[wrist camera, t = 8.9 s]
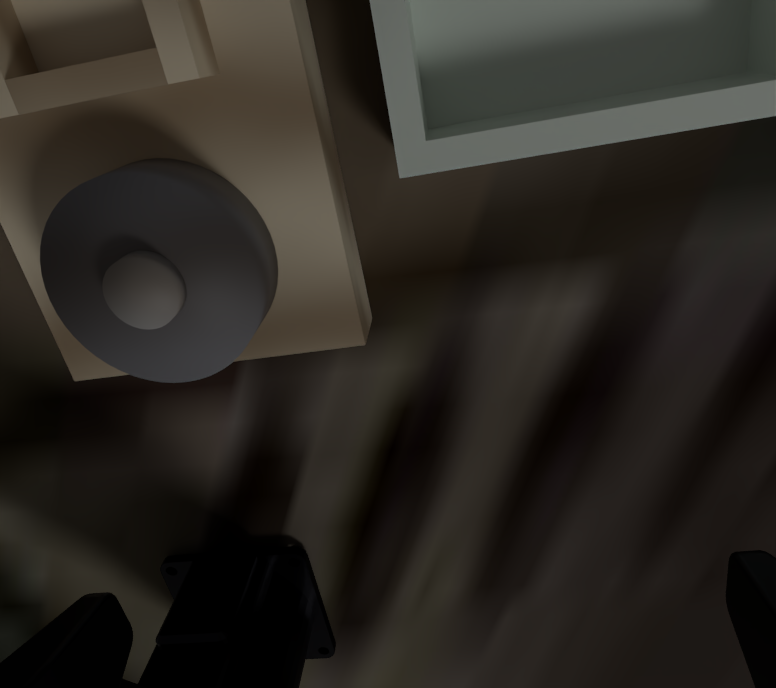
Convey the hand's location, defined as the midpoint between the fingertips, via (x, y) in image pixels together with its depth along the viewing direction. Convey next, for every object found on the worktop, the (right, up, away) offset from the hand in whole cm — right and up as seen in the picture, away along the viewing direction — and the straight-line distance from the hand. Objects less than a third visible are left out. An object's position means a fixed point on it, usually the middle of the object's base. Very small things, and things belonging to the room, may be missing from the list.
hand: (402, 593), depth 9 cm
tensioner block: (-7, +10, +10) cm, 16 cm away
